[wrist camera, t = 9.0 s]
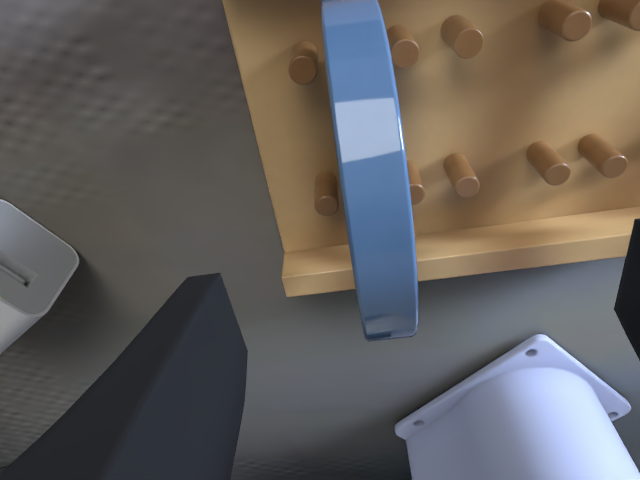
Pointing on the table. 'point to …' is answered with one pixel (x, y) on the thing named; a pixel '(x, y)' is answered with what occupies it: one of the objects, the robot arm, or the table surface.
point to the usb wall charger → (29, 271)
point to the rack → (458, 132)
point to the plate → (371, 166)
